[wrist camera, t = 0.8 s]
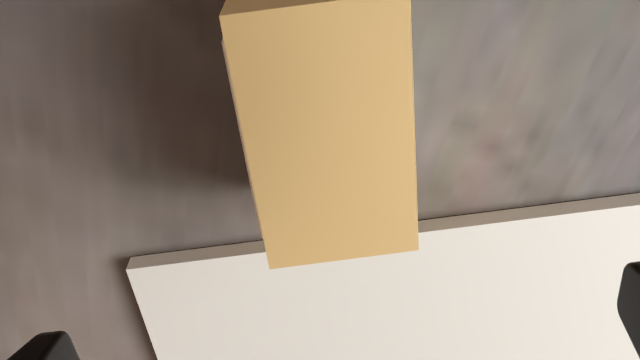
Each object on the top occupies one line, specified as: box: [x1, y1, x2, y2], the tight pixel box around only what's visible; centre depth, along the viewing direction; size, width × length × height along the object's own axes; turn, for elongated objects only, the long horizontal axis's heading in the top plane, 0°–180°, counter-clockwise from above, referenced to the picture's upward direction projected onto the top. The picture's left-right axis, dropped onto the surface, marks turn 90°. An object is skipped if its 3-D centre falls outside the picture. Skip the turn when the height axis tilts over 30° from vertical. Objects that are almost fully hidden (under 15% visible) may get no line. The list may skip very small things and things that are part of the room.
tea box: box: [219, 0, 419, 269], centre depth 17 cm, size 5×8×5 cm, turn 6°
